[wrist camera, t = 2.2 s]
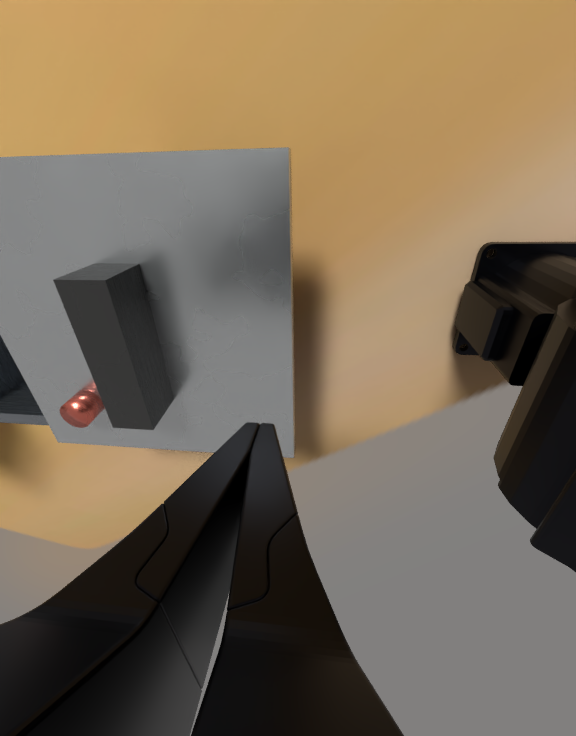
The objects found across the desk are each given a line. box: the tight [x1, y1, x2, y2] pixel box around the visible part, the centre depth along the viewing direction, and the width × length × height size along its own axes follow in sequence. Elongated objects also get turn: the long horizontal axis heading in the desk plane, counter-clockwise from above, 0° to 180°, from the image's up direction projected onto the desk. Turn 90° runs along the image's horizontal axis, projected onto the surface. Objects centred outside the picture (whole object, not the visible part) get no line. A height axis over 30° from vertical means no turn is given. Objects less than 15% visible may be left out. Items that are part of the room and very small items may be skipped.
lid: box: [0, 147, 295, 458], centre depth 15 cm, size 15×15×3 cm
